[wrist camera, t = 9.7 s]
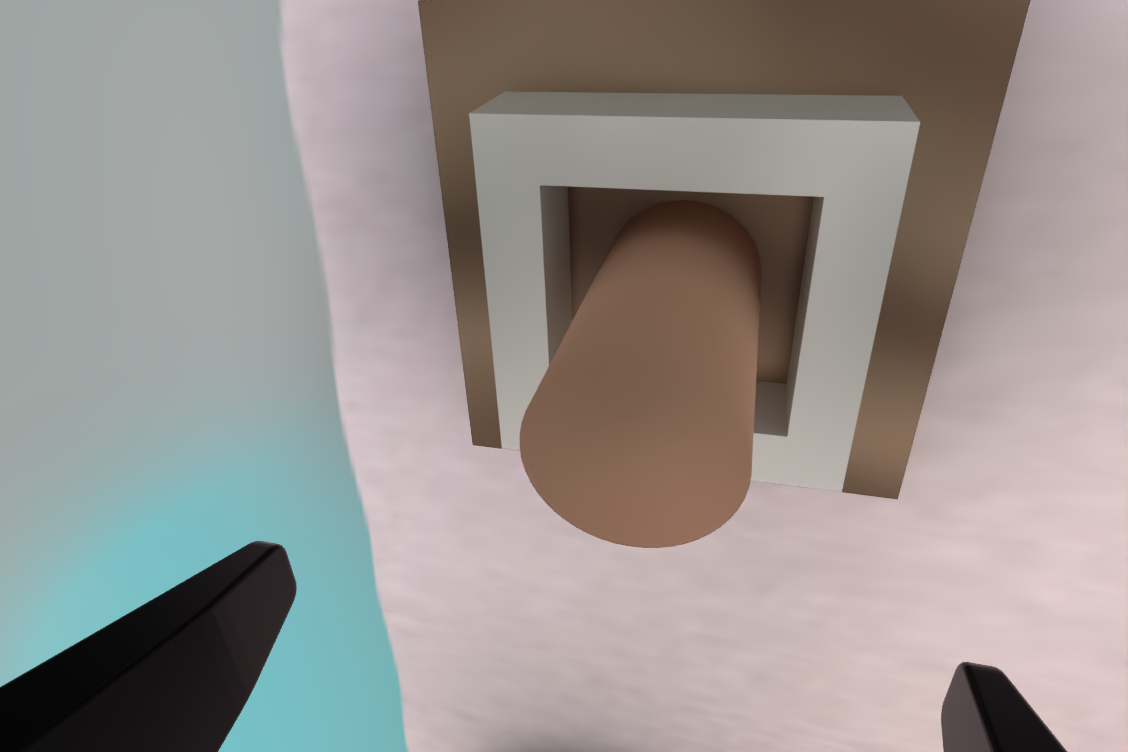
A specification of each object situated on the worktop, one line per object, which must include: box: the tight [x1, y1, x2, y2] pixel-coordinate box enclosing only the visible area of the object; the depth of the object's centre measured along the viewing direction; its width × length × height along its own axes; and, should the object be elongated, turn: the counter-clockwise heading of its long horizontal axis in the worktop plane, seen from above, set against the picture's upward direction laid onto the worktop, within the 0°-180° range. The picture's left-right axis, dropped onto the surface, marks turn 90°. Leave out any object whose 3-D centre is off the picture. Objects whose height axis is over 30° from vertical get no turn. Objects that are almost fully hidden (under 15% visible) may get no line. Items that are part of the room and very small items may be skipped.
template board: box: [418, 0, 1030, 499], centre depth 18 cm, size 13×13×4 cm
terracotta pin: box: [520, 200, 761, 548], centre depth 16 cm, size 4×4×8 cm
